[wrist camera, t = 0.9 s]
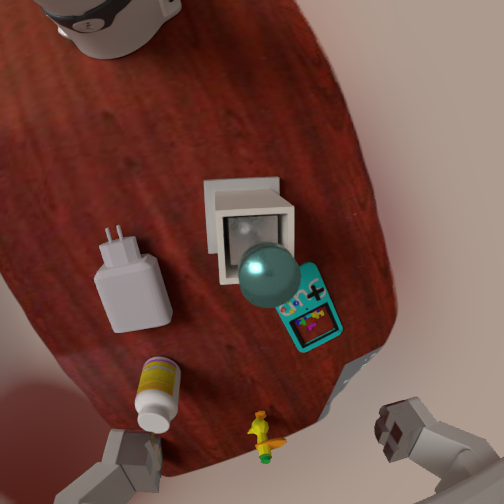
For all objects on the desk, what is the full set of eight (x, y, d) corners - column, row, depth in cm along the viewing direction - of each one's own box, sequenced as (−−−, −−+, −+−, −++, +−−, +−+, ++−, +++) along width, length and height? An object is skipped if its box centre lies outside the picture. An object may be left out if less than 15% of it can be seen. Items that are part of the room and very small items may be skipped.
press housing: (204, 179, 43) (198, 196, 28) (277, 176, 44) (308, 191, 29) (208, 250, 46) (207, 298, 31) (278, 245, 47) (306, 290, 32)
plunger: (227, 214, 33) (234, 249, 22) (273, 211, 33) (304, 245, 22) (229, 258, 35) (238, 312, 23) (274, 255, 35) (302, 307, 24)
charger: (146, 215, 44) (173, 309, 48) (89, 229, 43) (120, 318, 48) (139, 222, 39) (170, 324, 44) (78, 238, 39) (112, 334, 44)
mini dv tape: (153, 436, 57) (150, 457, 51) (160, 436, 57) (158, 458, 52) (156, 456, 59) (154, 477, 54) (162, 457, 60) (161, 477, 54)
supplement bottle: (137, 358, 50) (122, 410, 38) (173, 351, 51) (165, 405, 38) (152, 386, 53) (142, 439, 40) (186, 380, 53) (182, 434, 41)
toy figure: (276, 403, 57) (288, 450, 45) (280, 414, 58) (292, 460, 47) (242, 412, 57) (249, 460, 45) (247, 423, 58) (254, 470, 47)
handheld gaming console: (314, 260, 48) (344, 332, 53) (312, 258, 49) (342, 329, 54) (263, 286, 48) (301, 355, 53) (262, 283, 49) (299, 351, 54)
